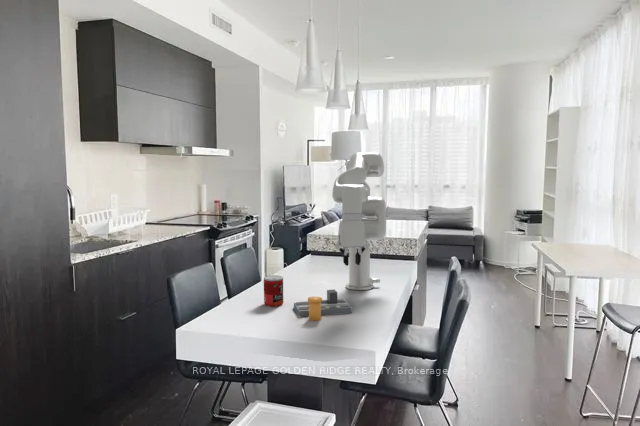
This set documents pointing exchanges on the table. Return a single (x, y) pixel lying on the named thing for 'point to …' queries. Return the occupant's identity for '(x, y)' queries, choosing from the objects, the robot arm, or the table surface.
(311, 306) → the orange pill bottle
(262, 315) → the table surface
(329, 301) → the knob
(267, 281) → the canned food
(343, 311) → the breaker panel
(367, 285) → the robot arm
